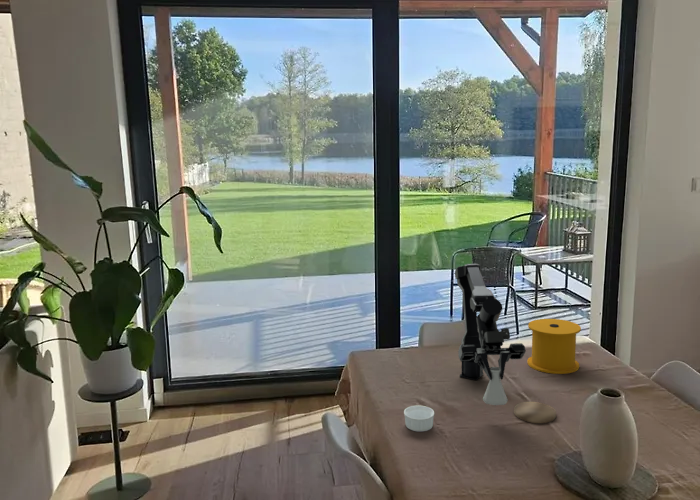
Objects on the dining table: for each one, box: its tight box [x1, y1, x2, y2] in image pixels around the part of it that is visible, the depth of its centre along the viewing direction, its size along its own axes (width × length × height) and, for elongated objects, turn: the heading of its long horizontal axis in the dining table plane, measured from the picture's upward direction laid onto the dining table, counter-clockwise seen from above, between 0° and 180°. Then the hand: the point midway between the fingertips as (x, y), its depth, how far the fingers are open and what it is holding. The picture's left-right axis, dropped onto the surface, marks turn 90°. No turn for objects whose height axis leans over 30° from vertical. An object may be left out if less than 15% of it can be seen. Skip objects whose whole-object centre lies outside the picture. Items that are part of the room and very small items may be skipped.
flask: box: [482, 366, 509, 406], centre depth 170 cm, size 7×7×10 cm
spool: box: [526, 318, 582, 375], centre depth 211 cm, size 18×18×15 cm
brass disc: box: [513, 401, 557, 424], centre depth 174 cm, size 12×12×1 cm
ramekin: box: [403, 405, 435, 433], centre depth 169 cm, size 9×9×4 cm
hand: (496, 379), depth 168 cm, fingers closed on flask, 3 cm apart
